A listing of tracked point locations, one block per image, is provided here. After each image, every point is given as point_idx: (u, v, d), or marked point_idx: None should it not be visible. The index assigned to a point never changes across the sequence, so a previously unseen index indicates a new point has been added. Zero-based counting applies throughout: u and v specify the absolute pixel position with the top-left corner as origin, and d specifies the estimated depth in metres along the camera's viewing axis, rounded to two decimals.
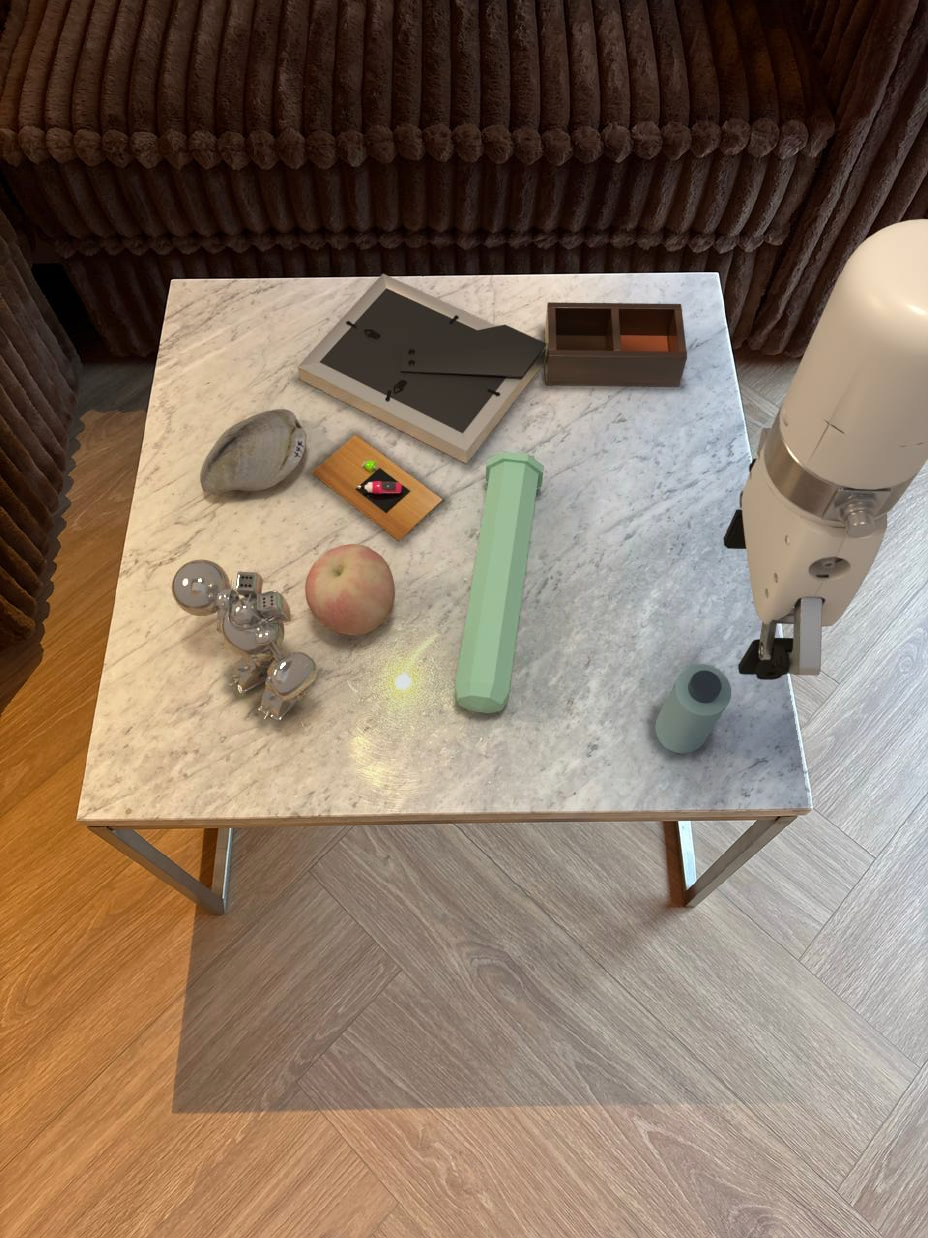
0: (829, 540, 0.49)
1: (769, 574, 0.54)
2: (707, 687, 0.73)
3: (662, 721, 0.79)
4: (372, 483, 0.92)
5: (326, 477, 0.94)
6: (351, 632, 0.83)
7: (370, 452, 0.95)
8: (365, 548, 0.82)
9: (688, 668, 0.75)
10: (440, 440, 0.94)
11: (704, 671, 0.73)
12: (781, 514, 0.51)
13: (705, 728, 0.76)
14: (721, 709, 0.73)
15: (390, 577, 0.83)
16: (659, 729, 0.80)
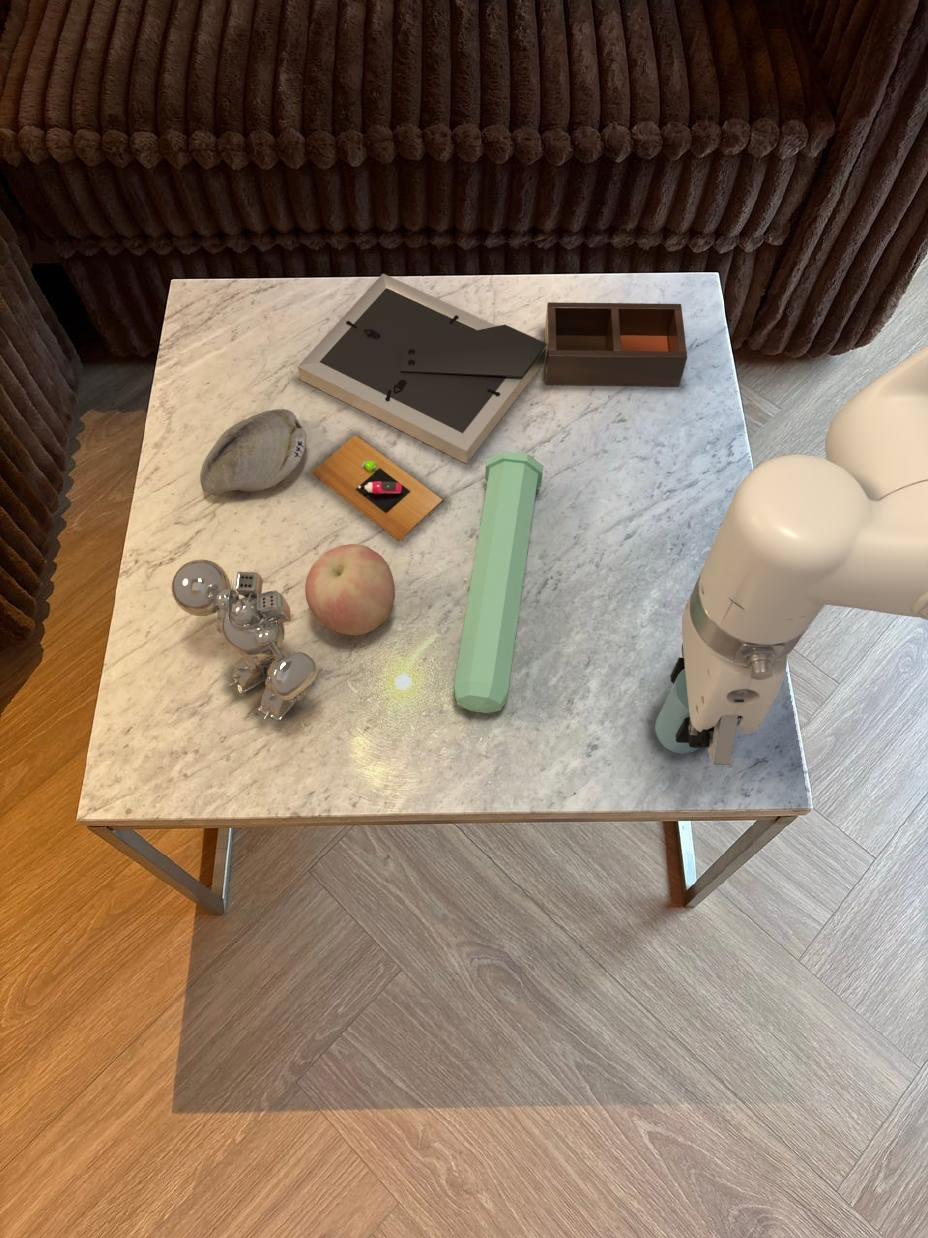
0: (740, 677, 0.61)
1: (698, 695, 0.66)
2: None
3: (662, 721, 0.79)
4: (372, 483, 0.92)
5: (326, 477, 0.94)
6: (351, 632, 0.83)
7: (370, 452, 0.95)
8: (365, 548, 0.82)
9: None
10: (440, 440, 0.94)
11: None
12: (705, 651, 0.63)
13: None
14: None
15: (390, 577, 0.83)
16: (659, 729, 0.80)
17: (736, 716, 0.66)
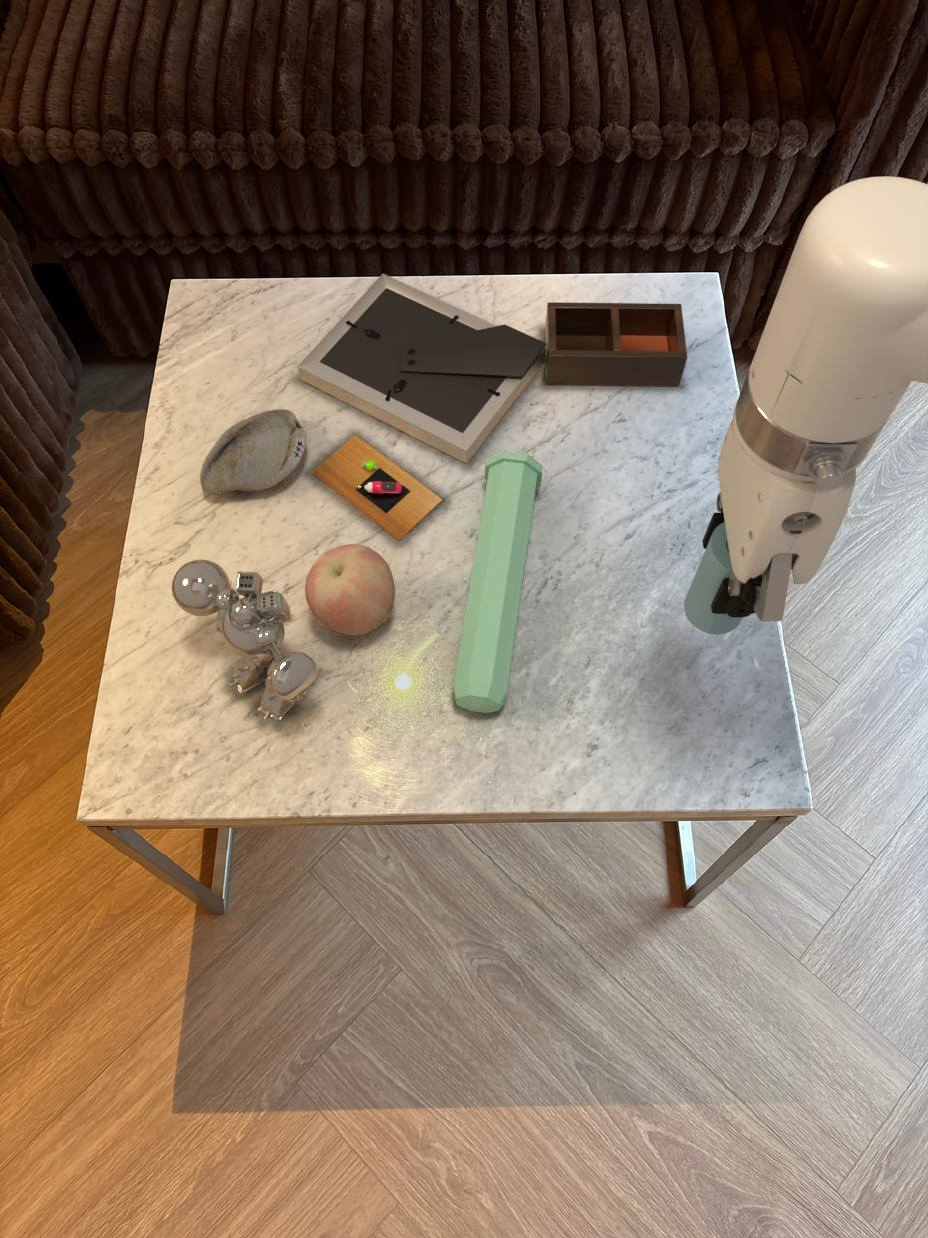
0: (800, 495, 0.50)
1: (745, 533, 0.55)
2: None
3: (693, 594, 0.68)
4: (372, 483, 0.92)
5: (326, 477, 0.94)
6: (351, 632, 0.83)
7: (370, 452, 0.95)
8: (365, 548, 0.82)
9: None
10: (440, 440, 0.94)
11: None
12: (754, 472, 0.53)
13: None
14: None
15: (390, 577, 0.83)
16: (689, 606, 0.70)
17: (790, 557, 0.55)
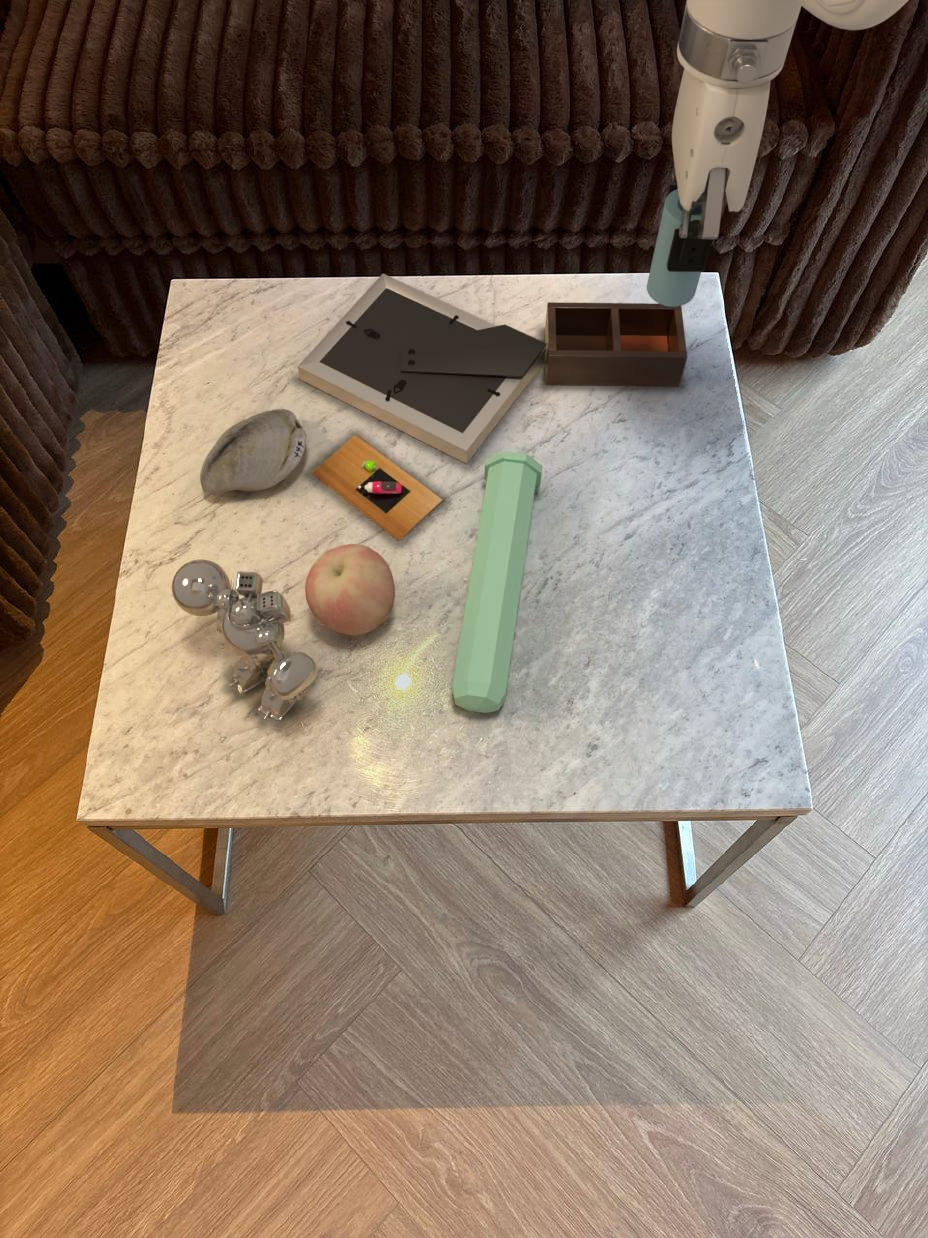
0: (726, 98, 0.65)
1: (687, 155, 0.70)
2: None
3: (653, 265, 0.83)
4: (372, 483, 0.92)
5: (326, 477, 0.94)
6: (351, 632, 0.83)
7: (370, 452, 0.95)
8: (365, 548, 0.82)
9: (677, 190, 0.78)
10: (440, 440, 0.94)
11: None
12: (693, 94, 0.67)
13: None
14: None
15: (390, 577, 0.83)
16: (650, 280, 0.84)
17: (723, 176, 0.70)
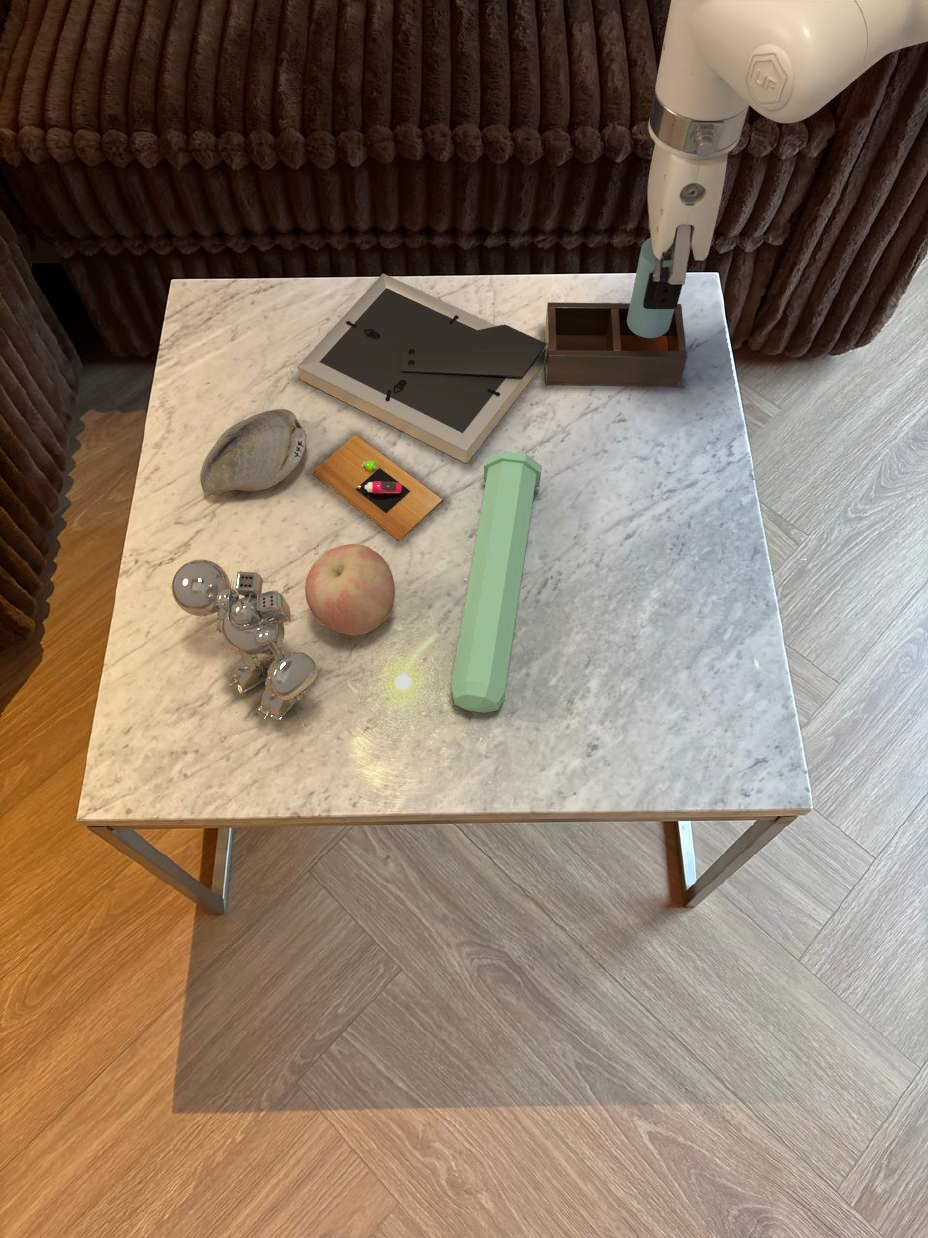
0: (689, 168, 0.75)
1: (658, 213, 0.80)
2: None
3: (632, 302, 0.93)
4: (372, 483, 0.92)
5: (326, 477, 0.94)
6: (351, 632, 0.83)
7: (370, 452, 0.95)
8: (365, 548, 0.82)
9: None
10: (440, 440, 0.94)
11: None
12: (662, 162, 0.78)
13: None
14: None
15: (390, 577, 0.83)
16: (630, 315, 0.95)
17: (689, 231, 0.80)
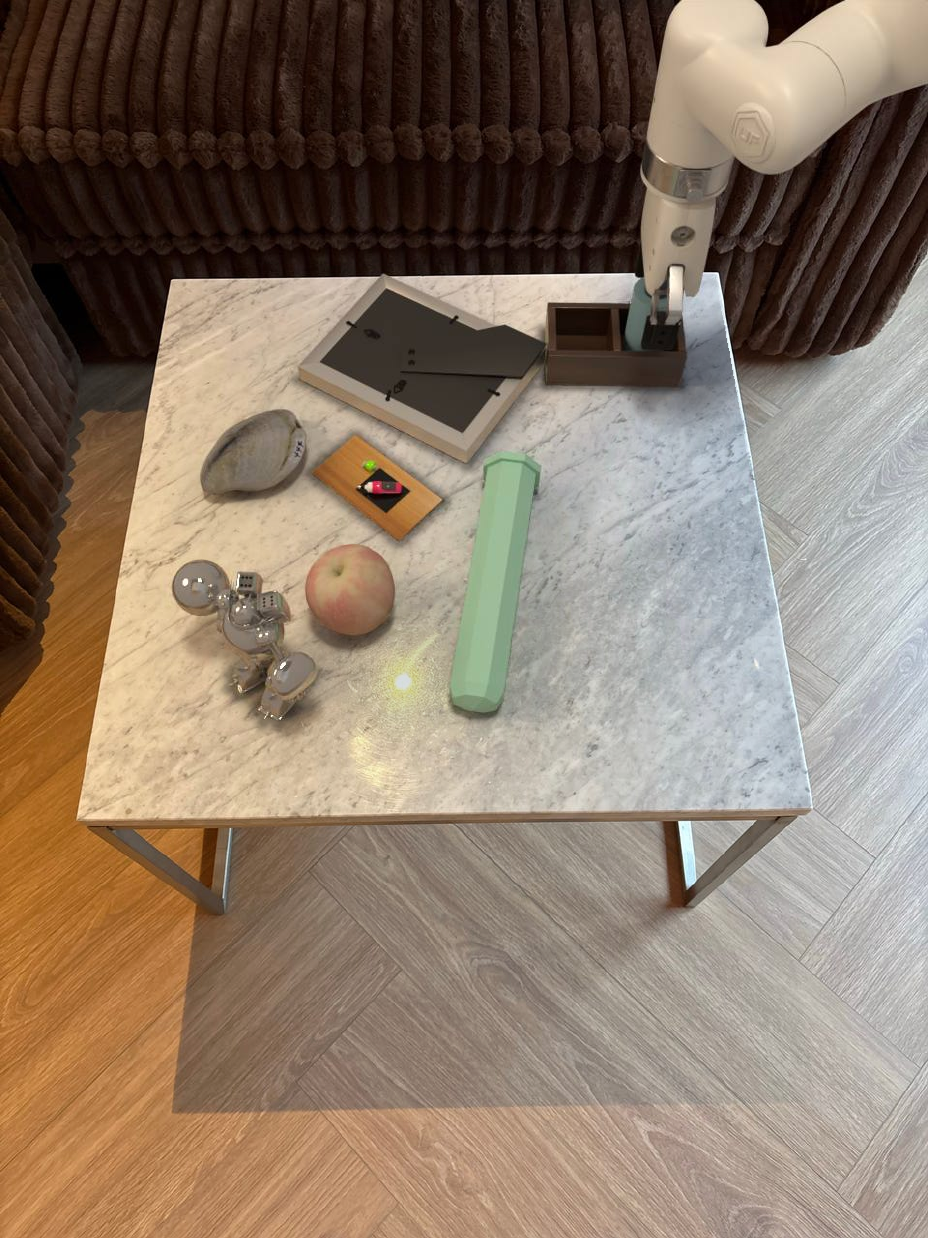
0: (680, 212, 0.79)
1: (650, 252, 0.84)
2: None
3: (625, 337, 0.98)
4: (372, 483, 0.92)
5: (326, 477, 0.94)
6: (351, 632, 0.83)
7: (370, 452, 0.95)
8: (365, 548, 0.82)
9: (644, 277, 0.93)
10: (440, 440, 0.94)
11: None
12: (654, 205, 0.82)
13: None
14: None
15: (390, 577, 0.83)
16: (623, 349, 0.99)
17: None
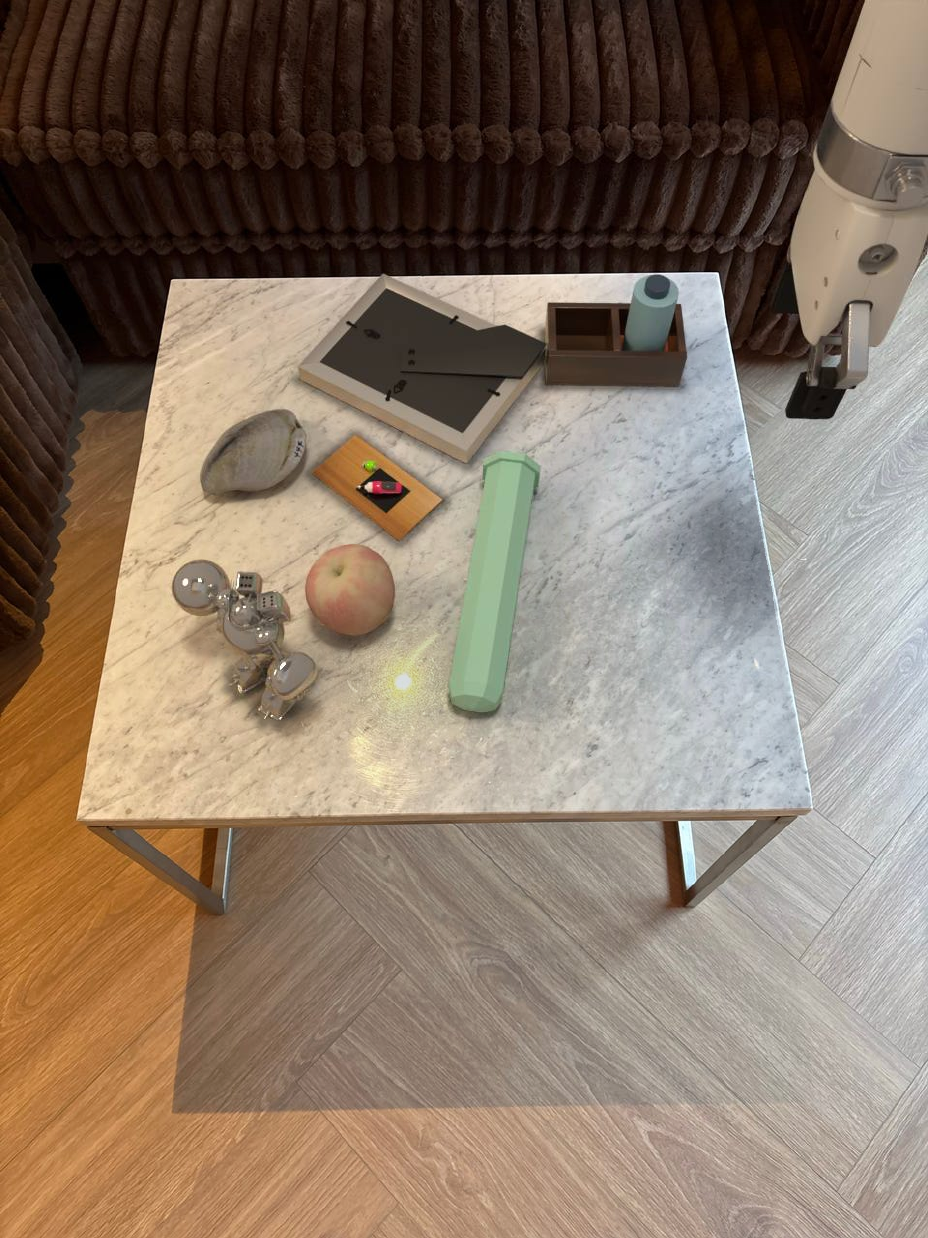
0: (879, 222, 0.51)
1: (819, 283, 0.56)
2: (658, 284, 0.91)
3: (625, 337, 0.98)
4: (372, 483, 0.92)
5: (326, 477, 0.94)
6: (351, 632, 0.83)
7: (370, 452, 0.95)
8: (365, 548, 0.82)
9: (644, 277, 0.93)
10: (440, 440, 0.94)
11: (656, 274, 0.92)
12: (832, 212, 0.54)
13: (658, 329, 0.94)
14: (670, 303, 0.92)
15: (390, 577, 0.83)
16: (623, 349, 0.99)
17: None
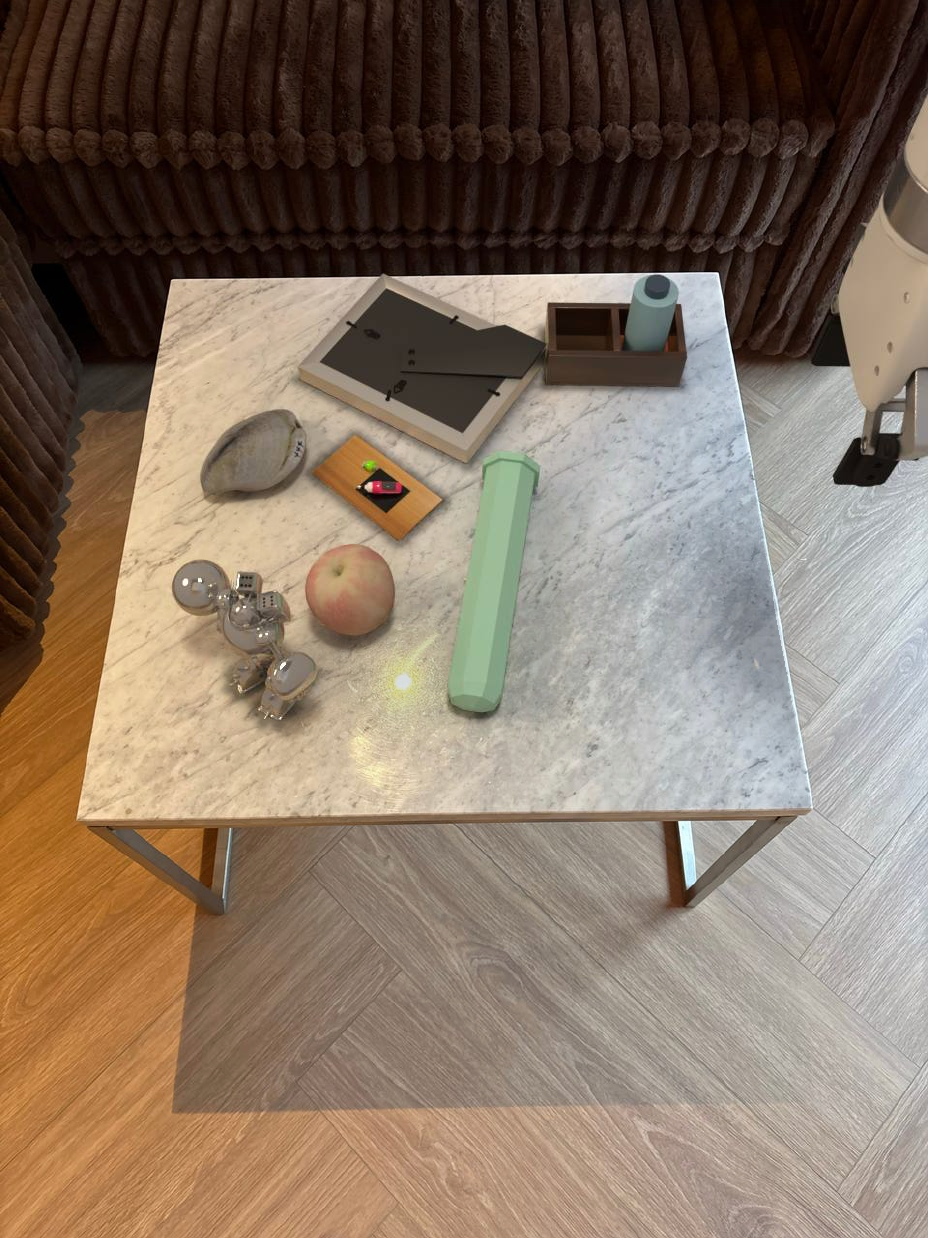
0: None
1: (881, 347, 0.51)
2: (658, 284, 0.91)
3: (625, 337, 0.98)
4: (372, 483, 0.92)
5: (326, 477, 0.94)
6: (351, 632, 0.83)
7: (370, 452, 0.95)
8: (365, 548, 0.82)
9: (644, 277, 0.93)
10: (440, 440, 0.94)
11: (656, 274, 0.92)
12: (899, 272, 0.48)
13: (658, 329, 0.94)
14: (670, 303, 0.92)
15: (390, 577, 0.83)
16: (623, 349, 0.99)
17: None
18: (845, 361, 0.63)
